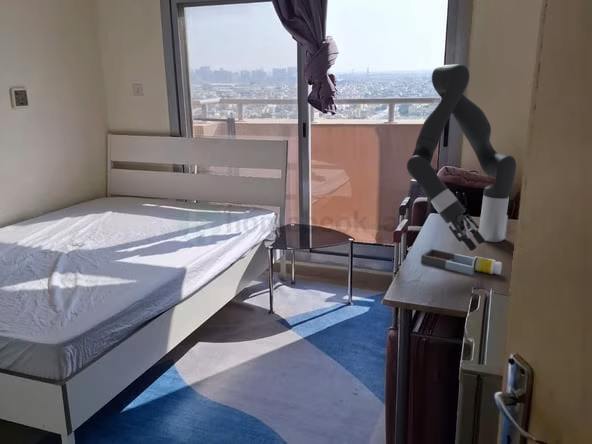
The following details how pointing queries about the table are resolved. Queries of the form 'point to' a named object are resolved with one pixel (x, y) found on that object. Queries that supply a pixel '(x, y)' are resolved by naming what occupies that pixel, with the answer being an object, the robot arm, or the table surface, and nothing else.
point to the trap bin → (437, 257)
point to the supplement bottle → (486, 265)
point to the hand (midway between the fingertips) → (478, 245)
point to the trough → (459, 266)
